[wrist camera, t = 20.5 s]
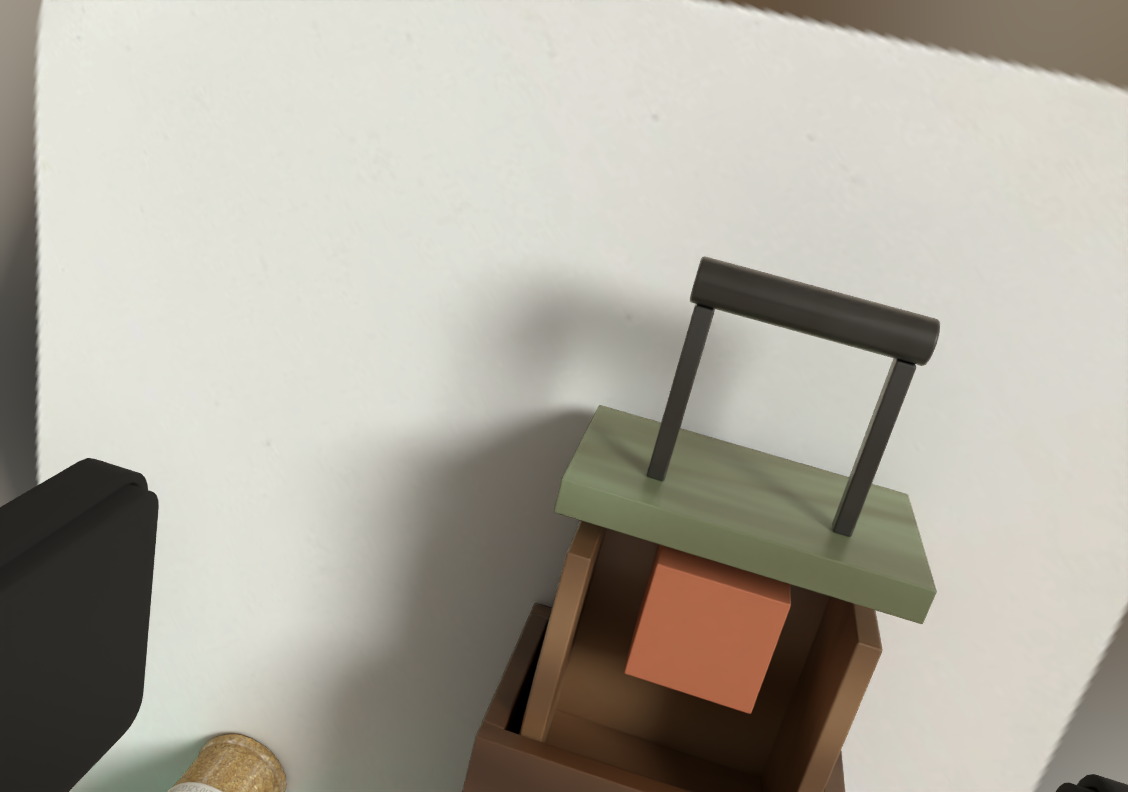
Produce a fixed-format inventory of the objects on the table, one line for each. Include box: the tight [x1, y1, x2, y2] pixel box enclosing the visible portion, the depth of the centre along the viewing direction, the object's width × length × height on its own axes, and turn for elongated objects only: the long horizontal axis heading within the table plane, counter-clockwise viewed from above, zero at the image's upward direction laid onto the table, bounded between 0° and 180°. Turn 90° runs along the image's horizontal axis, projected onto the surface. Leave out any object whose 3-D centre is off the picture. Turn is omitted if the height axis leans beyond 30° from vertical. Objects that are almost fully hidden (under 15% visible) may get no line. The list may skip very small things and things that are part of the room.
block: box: [624, 544, 791, 714], centre depth 34 cm, size 4×4×4 cm
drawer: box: [519, 257, 940, 792], centre depth 33 cm, size 21×11×7 cm, turn 167°
